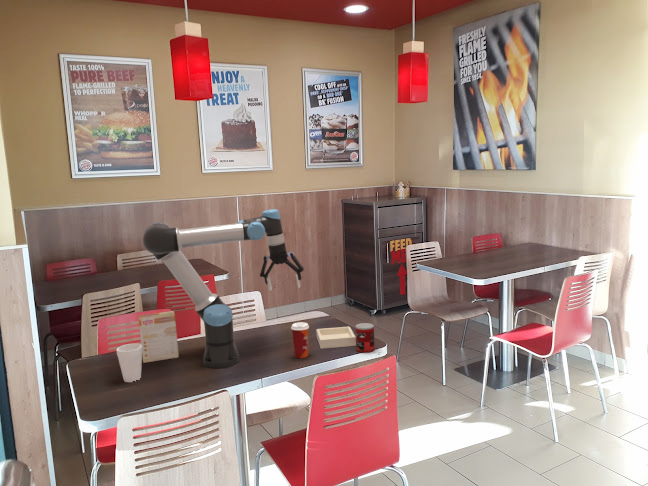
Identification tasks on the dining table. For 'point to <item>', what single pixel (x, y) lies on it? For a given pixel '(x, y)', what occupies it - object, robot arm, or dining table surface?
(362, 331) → the canned food
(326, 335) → the tray
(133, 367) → the foam cup
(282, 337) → the dining table surface
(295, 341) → the paper cup
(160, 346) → the coffeecake box
